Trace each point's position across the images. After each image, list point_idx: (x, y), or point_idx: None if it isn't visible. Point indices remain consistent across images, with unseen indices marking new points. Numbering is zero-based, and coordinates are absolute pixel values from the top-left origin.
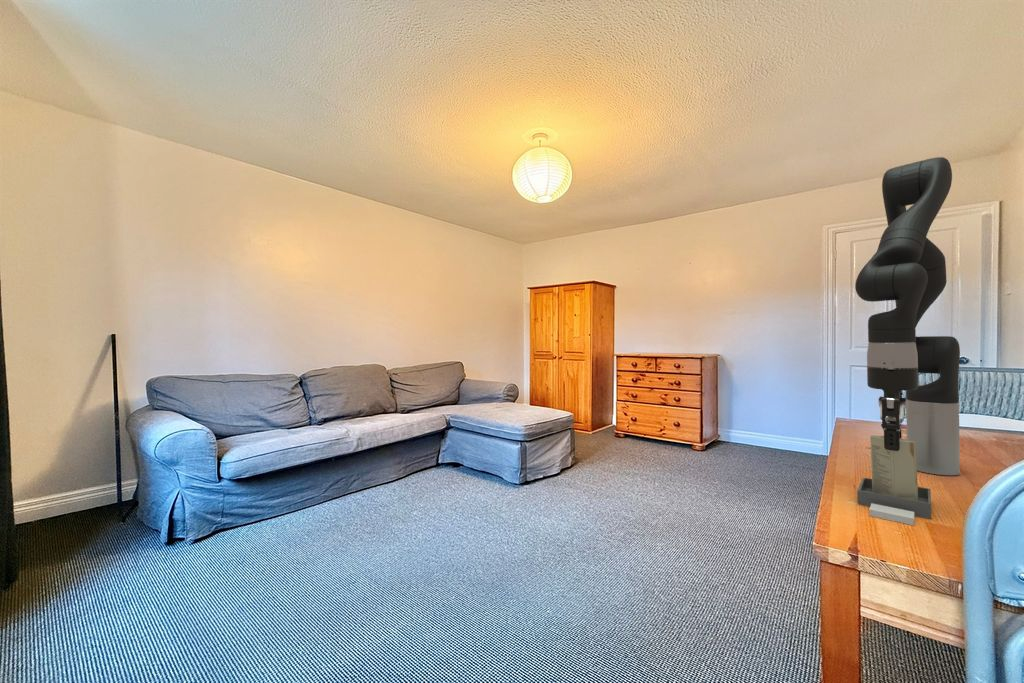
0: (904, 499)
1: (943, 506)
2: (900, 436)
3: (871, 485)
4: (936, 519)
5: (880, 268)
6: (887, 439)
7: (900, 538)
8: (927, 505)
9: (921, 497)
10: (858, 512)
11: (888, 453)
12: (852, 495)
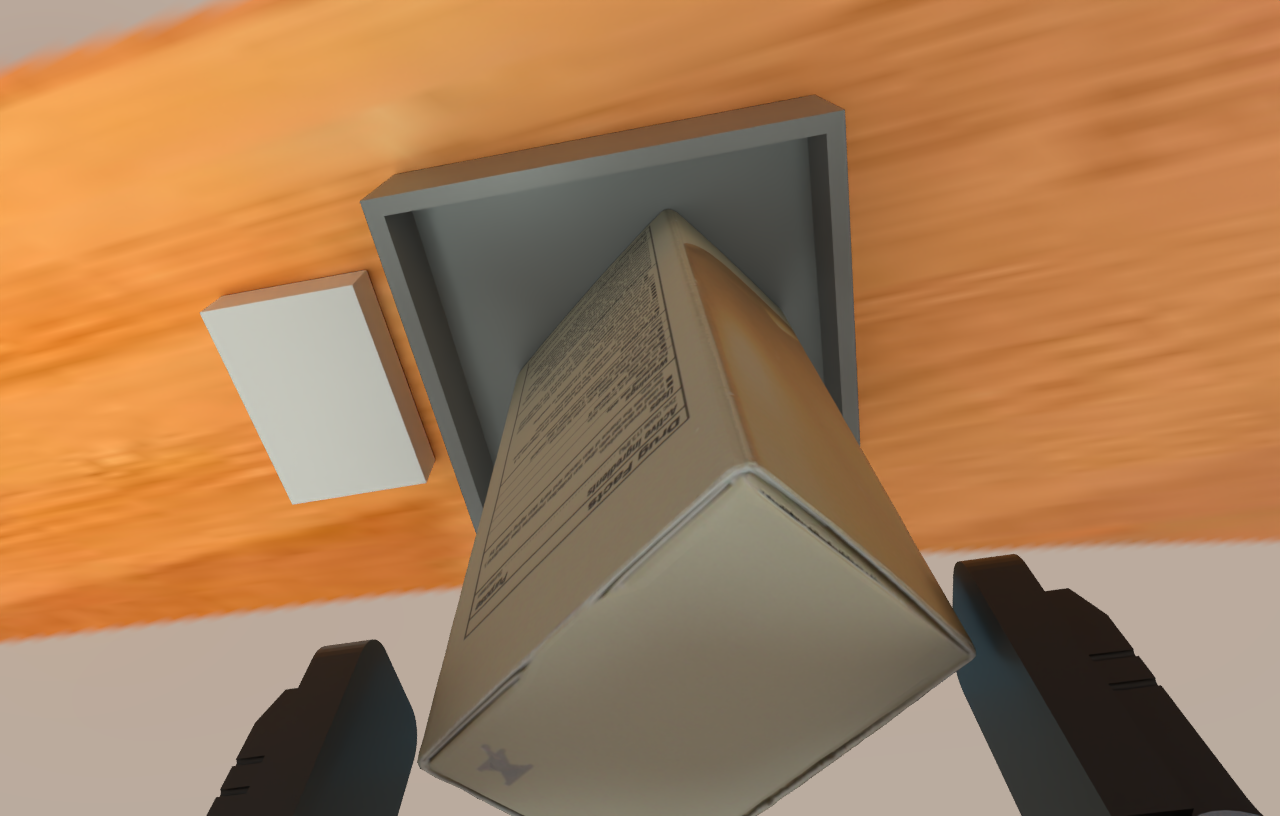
0: (452, 464)
1: None
2: (985, 730)
3: (814, 171)
4: None
5: None
6: (215, 809)
7: (39, 479)
8: None
9: None
10: (219, 230)
11: (489, 583)
12: (591, 77)
